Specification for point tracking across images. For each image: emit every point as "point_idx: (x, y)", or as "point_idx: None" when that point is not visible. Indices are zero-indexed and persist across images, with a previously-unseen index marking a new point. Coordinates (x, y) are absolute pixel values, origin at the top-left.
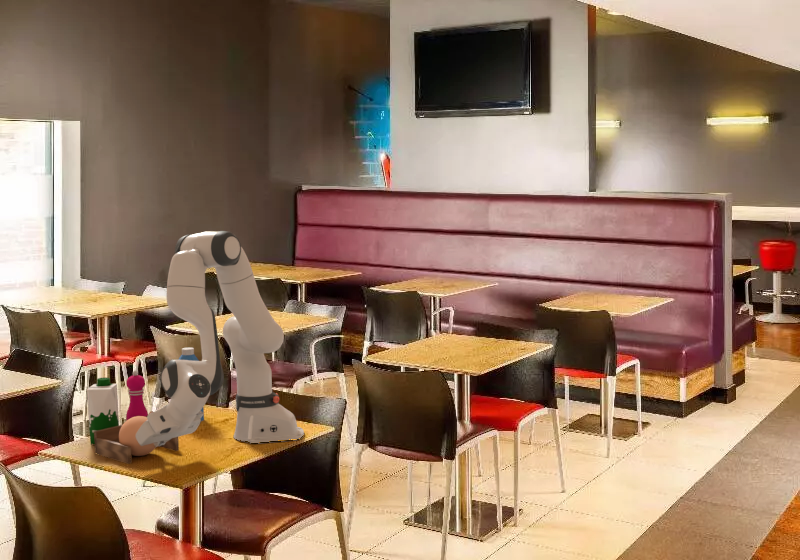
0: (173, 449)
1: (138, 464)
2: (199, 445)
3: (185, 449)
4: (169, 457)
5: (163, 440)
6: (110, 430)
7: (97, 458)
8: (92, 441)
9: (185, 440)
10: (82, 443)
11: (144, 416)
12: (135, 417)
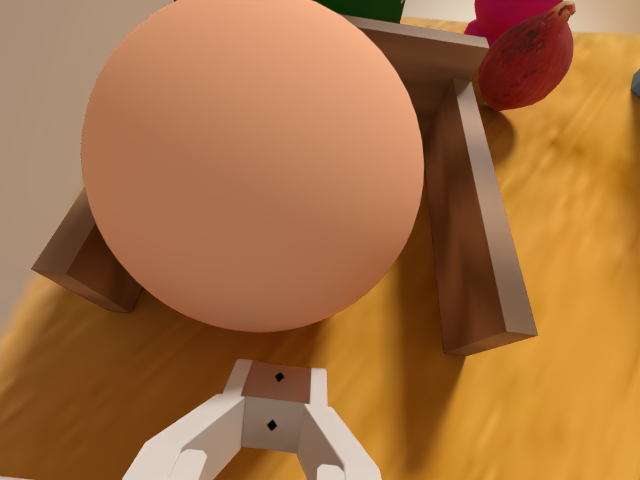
0: (444, 331)
1: (111, 378)
2: (609, 388)
3: (504, 379)
4: None
5: (299, 437)
6: None
7: None
8: None
9: (574, 249)
10: None
11: (534, 13)
12: (215, 2)
